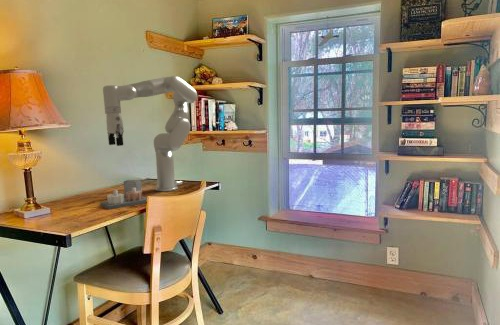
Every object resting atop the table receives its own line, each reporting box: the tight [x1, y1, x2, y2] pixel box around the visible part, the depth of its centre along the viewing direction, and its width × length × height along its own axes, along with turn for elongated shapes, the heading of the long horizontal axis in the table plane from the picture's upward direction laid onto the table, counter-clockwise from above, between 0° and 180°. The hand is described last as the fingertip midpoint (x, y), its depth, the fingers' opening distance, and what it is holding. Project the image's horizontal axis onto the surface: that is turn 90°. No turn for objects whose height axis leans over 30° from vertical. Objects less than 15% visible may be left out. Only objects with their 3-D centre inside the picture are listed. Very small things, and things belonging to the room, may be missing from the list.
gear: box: [106, 192, 125, 204], centre depth 177 cm, size 7×7×4 cm
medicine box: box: [123, 179, 143, 198], centre depth 195 cm, size 8×4×9 cm, turn 71°
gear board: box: [99, 188, 148, 210], centre depth 180 cm, size 20×11×7 cm, turn 130°
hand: (116, 145), depth 190 cm, fingers open, 9 cm apart
